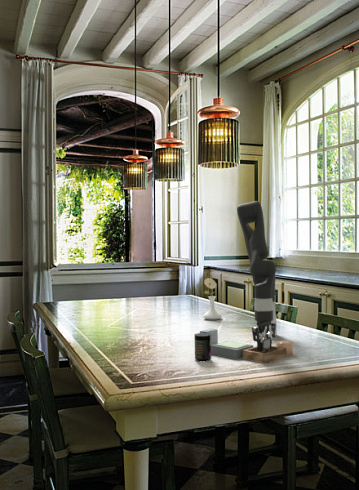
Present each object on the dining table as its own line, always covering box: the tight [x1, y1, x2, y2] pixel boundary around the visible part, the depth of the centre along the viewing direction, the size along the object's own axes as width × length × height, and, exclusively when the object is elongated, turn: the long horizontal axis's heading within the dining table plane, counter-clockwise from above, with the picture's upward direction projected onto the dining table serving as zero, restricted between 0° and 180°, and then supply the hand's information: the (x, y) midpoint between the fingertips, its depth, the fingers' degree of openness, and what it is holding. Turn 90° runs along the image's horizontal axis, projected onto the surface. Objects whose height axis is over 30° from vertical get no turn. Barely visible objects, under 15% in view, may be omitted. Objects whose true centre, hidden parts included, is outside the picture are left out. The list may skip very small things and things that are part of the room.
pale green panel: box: [216, 340, 249, 349], centre depth 215 cm, size 8×11×1 cm
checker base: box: [211, 340, 254, 360], centre depth 216 cm, size 11×14×4 cm
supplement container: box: [194, 332, 212, 363], centre depth 207 cm, size 7×7×10 cm
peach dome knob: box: [275, 340, 294, 357], centre depth 213 cm, size 7×7×5 cm
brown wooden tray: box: [242, 345, 287, 364], centre depth 208 cm, size 11×15×4 cm
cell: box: [259, 337, 270, 353], centre depth 208 cm, size 4×4×7 cm
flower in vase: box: [202, 277, 223, 321], centre depth 307 cm, size 13×11×25 cm
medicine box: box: [199, 328, 219, 345], centre depth 226 cm, size 8×4×9 cm, turn 141°
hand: (264, 349), depth 208 cm, fingers open, 5 cm apart
